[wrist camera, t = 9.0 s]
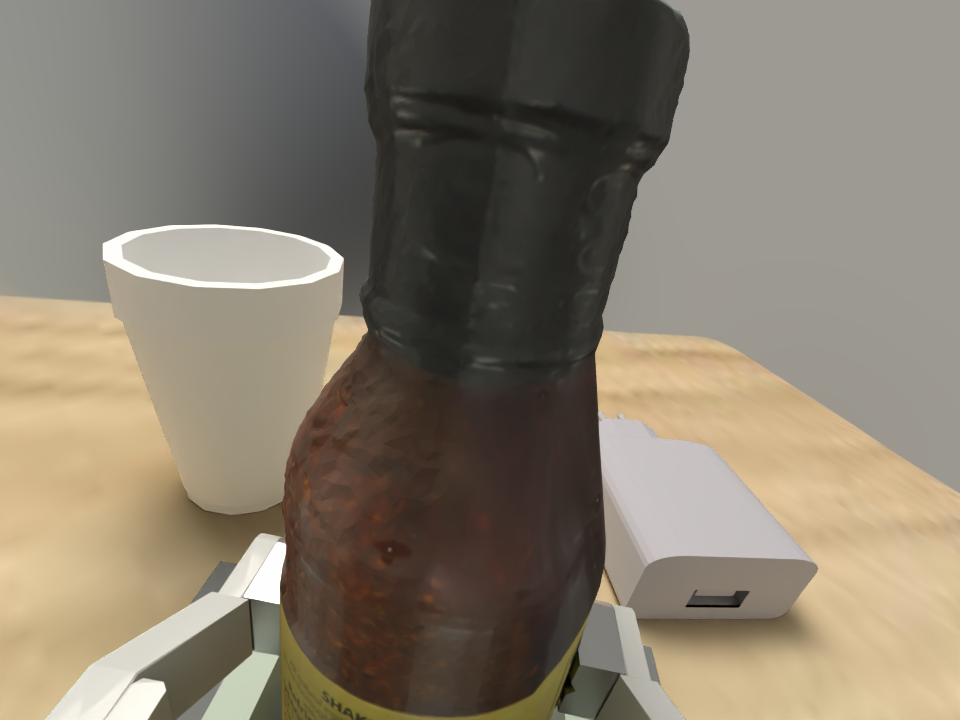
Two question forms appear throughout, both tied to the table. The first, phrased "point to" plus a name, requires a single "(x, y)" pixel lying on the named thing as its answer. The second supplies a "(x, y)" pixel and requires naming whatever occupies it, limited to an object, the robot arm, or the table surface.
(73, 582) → the table surface
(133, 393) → the table surface
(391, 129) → the sauce bottle
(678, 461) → the charger
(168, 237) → the foam cup
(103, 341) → the table surface
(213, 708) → the bottle holder
